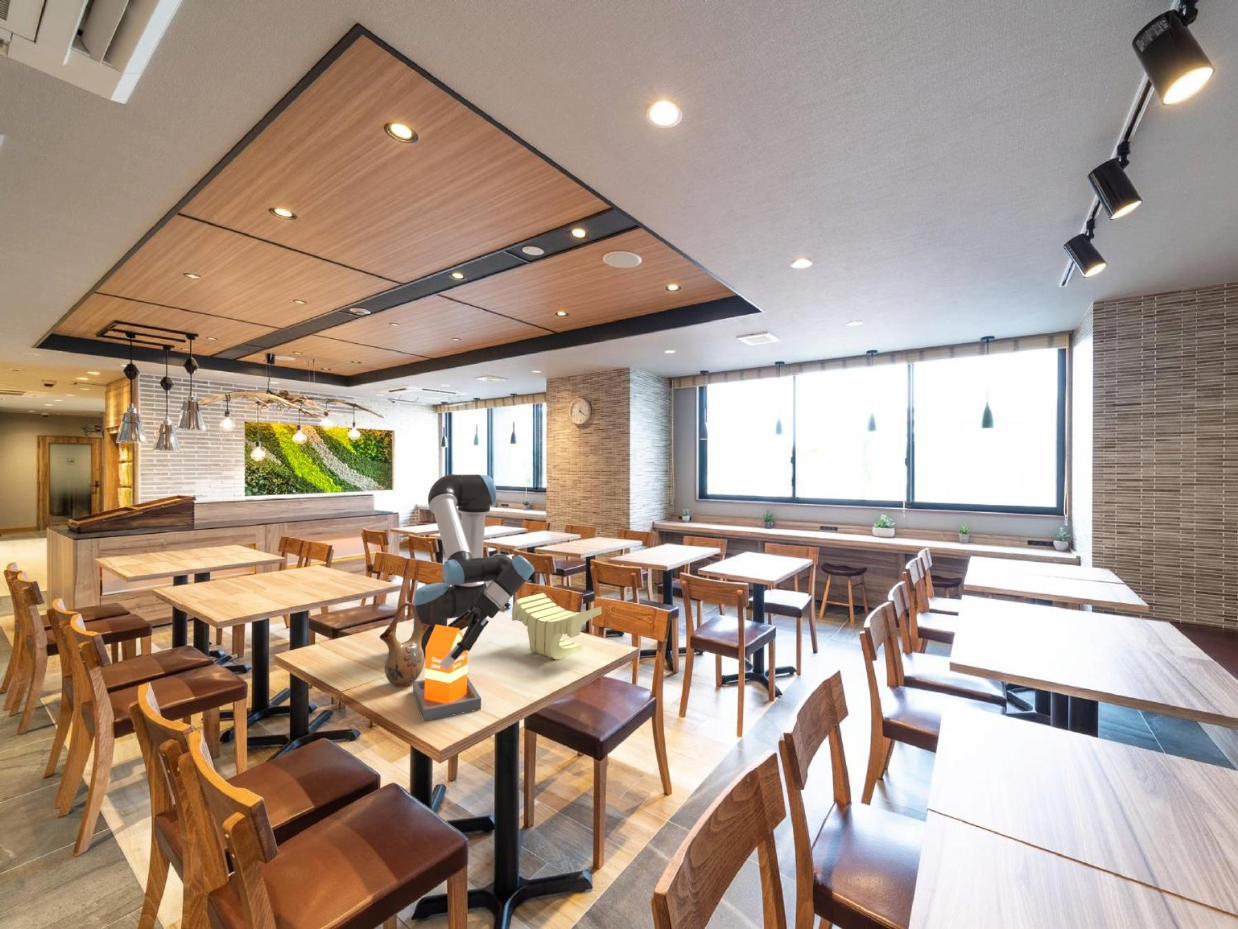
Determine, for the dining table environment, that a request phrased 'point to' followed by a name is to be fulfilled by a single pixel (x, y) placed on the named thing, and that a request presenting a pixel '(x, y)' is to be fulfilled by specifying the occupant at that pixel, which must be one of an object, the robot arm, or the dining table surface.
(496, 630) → the dining table surface
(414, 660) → the ceramic vessel
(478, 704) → the tray
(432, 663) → the orange juice
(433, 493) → the robot arm
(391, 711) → the dining table surface
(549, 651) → the slatted curved stool
